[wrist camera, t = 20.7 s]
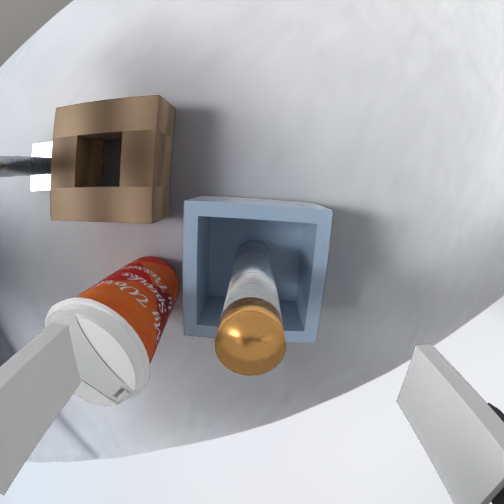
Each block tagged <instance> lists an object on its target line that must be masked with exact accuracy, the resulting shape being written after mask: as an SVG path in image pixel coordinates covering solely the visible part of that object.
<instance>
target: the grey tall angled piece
mask: <svg viewBox="0 0 504 504" xmlns="http://www.w3.org/2000/svg"><path fill="white" fill-rule="evenodd" d="M50 170H51V160H50V159H49V158H48V157H28V156H0V177H11V176H29V175H46V174H48V173H49V172H50Z"/></svg>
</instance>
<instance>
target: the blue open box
mask: <svg viewBox="0 0 504 504" xmlns="http://www.w3.org/2000/svg"><path fill="white" fill-rule="evenodd" d="M332 216H333V210H331V209H328V208H326V207H323V206H321V205H318V204H316V203H311V202H299V201H286V200H273V199H258V198H242V197H224V196H203V195H202V196H199V197H195V198H192V199H188V200H185V201H184V218H183V326H184V335H189V336H199V337H209V338H216V335H217V331H218V327H219V323H220V319H221V315H222V311H223V307H224V303H225V299H226V295H227V291H228V287H229V283H230V279H231V275H232V271H233V267H234V263H235V259H236V255H237V252H238V249H239V247H240V246H241V245H242V244H243V243H245V242H246V241H249V240H259V241H261V242H263V243H265V244H266V245H267V246H268V248H269V250H270V252H271V258H272V263H273V269H274V275H275V281H276V287H277V293H278V299H279V305H280V311H281V317H282V323H283V329H284V335H285V342H289V343H315V342H316V337H317V331H318V324H319V318H320V312H321V305H322V298H323V292H324V284H325V277H326V269H327V261H328V253H329V244H330V235H331V226H332Z"/></svg>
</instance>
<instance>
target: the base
mask: <svg viewBox="0 0 504 504" xmlns="http://www.w3.org/2000/svg"><path fill="white" fill-rule="evenodd" d="M51 156H52V142H46V143H39V144H33V149H32V157H48V158H49V159H50V160H51ZM50 181H51V170H50V172H49V173H48V174H46V175H31V191H40V190H50Z"/></svg>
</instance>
